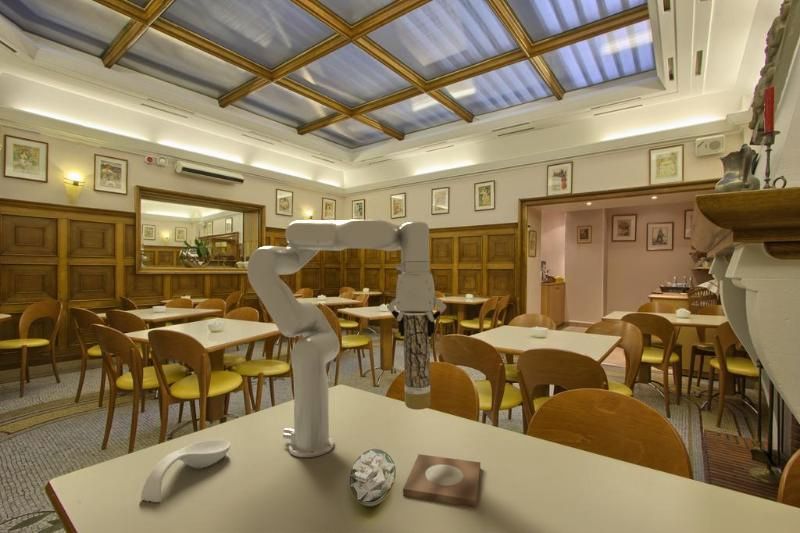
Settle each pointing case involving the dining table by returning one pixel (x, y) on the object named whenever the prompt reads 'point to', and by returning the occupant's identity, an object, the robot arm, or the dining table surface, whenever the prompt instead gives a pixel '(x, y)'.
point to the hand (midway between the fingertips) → (416, 335)
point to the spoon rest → (191, 455)
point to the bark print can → (416, 360)
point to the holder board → (444, 480)
